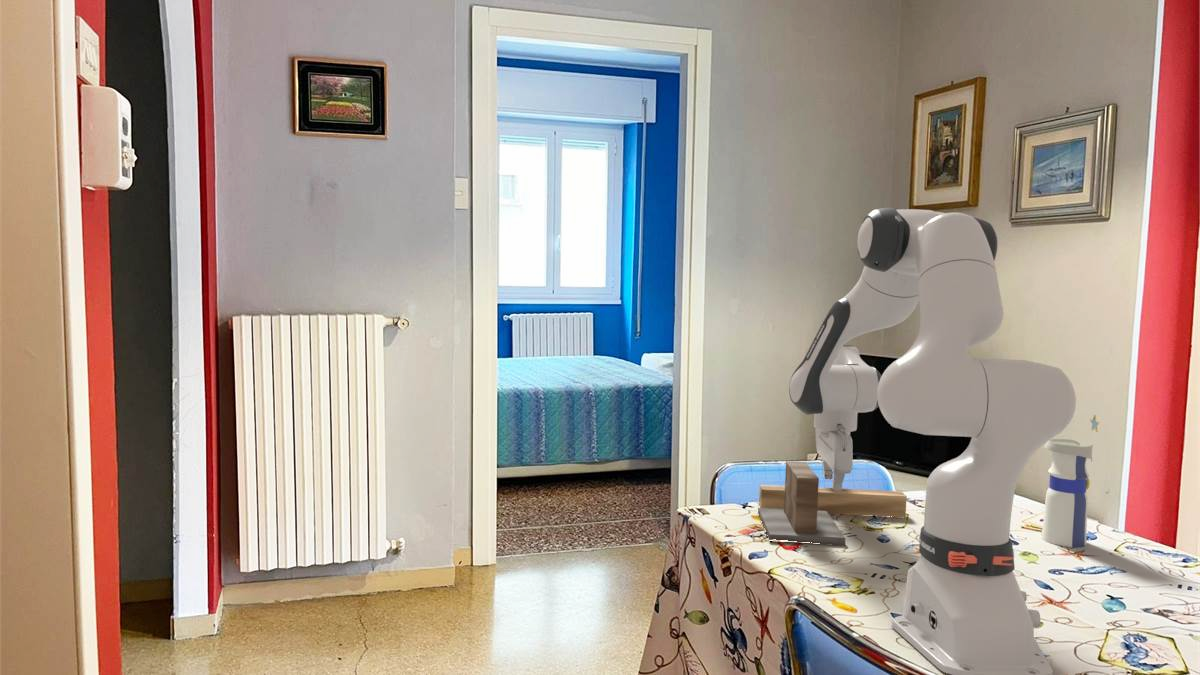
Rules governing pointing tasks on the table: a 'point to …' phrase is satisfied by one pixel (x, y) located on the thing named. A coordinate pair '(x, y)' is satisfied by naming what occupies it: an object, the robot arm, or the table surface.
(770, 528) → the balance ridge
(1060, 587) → the table surface
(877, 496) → the oak rod
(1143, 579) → the table surface
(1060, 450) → the water bottle
